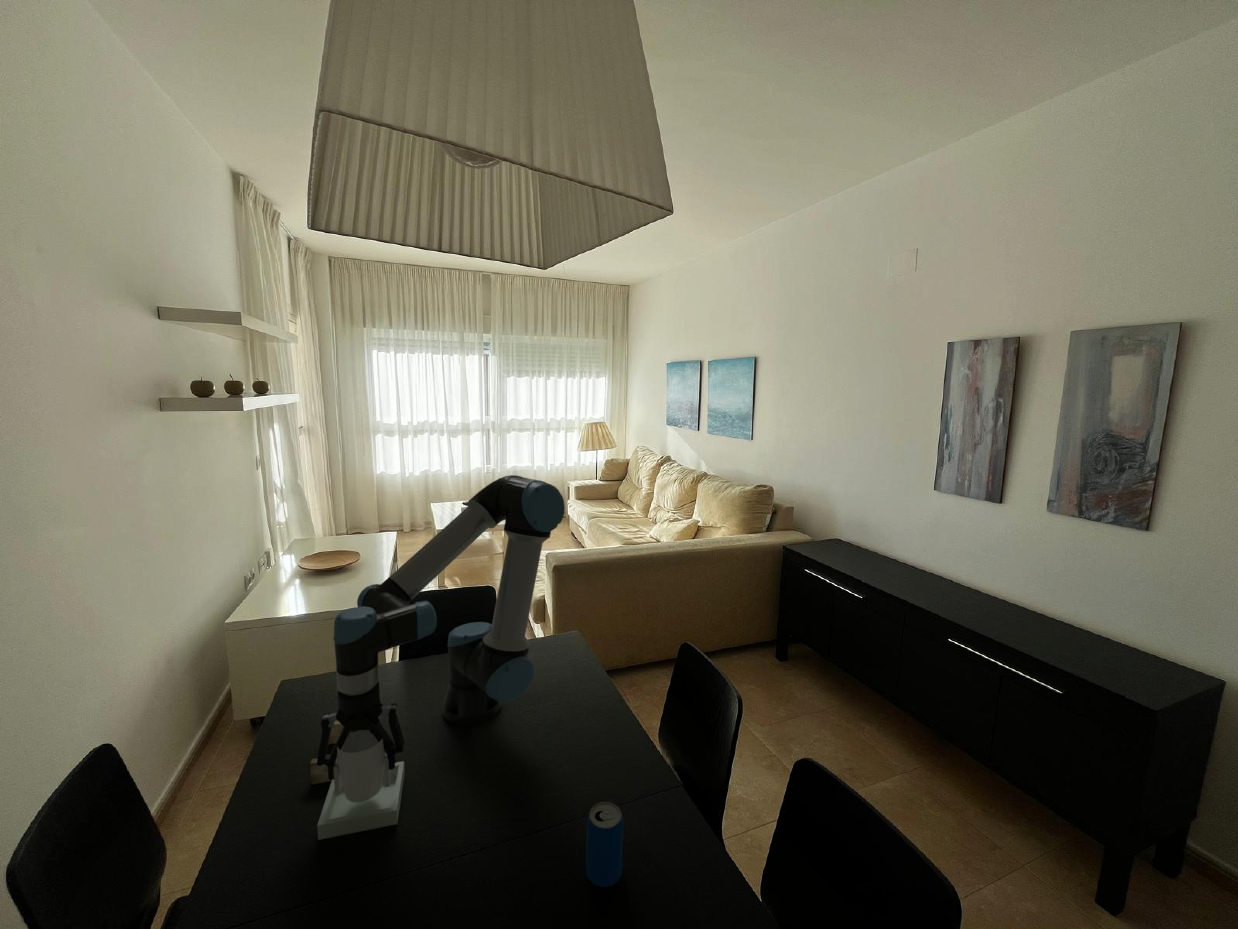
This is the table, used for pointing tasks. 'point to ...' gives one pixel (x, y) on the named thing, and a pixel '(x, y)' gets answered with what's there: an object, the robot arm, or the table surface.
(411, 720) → the table surface
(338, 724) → the rest
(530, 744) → the table surface
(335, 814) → the tray
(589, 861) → the beverage can
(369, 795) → the cup
